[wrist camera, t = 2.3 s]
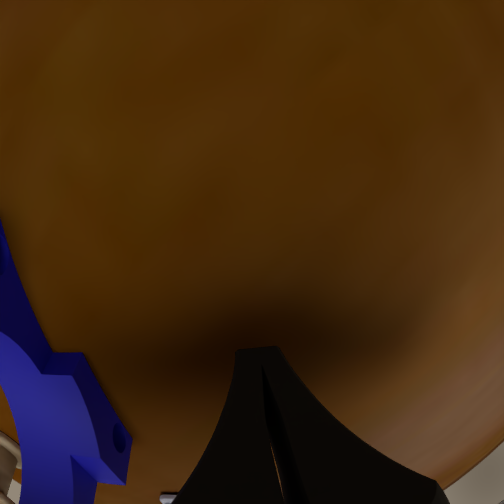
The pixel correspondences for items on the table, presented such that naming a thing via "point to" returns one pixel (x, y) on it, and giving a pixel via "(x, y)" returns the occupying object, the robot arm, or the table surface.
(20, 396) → the blue curved block
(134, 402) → the table surface
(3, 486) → the bobbin
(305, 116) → the table surface
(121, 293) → the table surface
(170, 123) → the table surface
